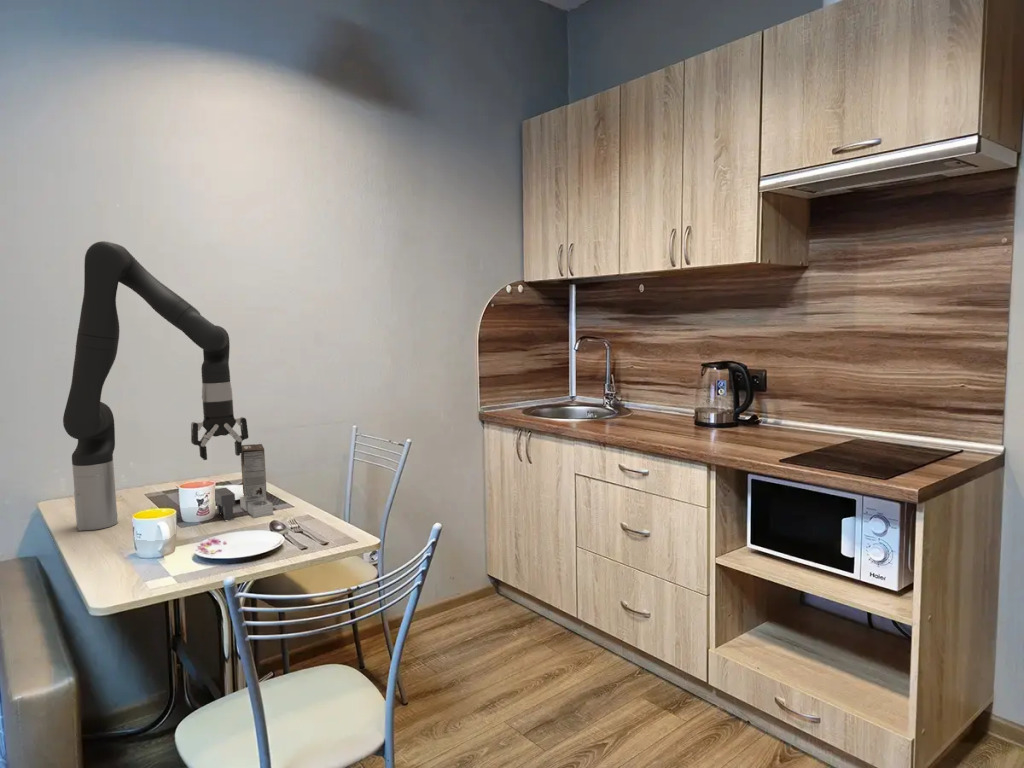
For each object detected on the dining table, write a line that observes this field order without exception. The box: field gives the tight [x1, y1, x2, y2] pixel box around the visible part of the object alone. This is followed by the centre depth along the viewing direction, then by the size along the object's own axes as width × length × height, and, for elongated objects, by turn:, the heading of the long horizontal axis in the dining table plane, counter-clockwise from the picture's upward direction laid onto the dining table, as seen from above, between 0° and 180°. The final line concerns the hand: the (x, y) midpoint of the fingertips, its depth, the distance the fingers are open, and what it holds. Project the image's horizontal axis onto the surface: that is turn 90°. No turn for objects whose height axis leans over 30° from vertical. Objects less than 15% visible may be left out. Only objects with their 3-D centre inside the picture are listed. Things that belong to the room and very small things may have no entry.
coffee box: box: [240, 443, 268, 500], centre depth 204 cm, size 9×6×16 cm
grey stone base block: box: [239, 494, 274, 518], centre depth 191 cm, size 5×13×4 cm, turn 37°
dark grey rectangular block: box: [214, 487, 236, 521], centre depth 186 cm, size 4×9×7 cm, turn 37°
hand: (221, 457), depth 185 cm, fingers open, 8 cm apart
